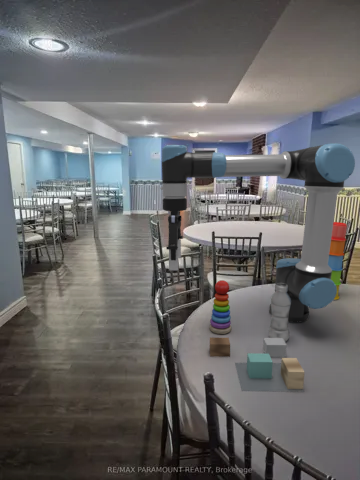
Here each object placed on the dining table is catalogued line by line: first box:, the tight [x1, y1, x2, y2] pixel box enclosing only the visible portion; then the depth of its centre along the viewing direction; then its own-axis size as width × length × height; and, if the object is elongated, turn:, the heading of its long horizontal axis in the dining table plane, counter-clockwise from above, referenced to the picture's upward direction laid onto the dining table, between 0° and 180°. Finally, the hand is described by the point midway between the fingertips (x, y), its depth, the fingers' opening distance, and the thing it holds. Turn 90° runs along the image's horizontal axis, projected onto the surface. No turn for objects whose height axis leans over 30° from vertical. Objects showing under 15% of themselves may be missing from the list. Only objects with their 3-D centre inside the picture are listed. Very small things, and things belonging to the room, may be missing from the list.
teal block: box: [246, 352, 274, 379], centre depth 83 cm, size 6×4×5 cm, turn 88°
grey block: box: [262, 337, 288, 358], centre depth 93 cm, size 6×4×5 cm, turn 88°
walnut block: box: [208, 336, 231, 358], centre depth 93 cm, size 6×4×5 cm, turn 89°
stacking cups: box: [328, 221, 348, 301], centre depth 135 cm, size 10×10×35 cm
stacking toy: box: [209, 280, 232, 335], centre depth 107 cm, size 8×8×19 cm
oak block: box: [280, 357, 305, 390], centre depth 80 cm, size 6×4×5 cm, turn 178°
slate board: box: [234, 362, 305, 393], centre depth 82 cm, size 16×12×1 cm
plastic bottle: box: [268, 283, 291, 343], centre depth 100 cm, size 6×7×20 cm
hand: (175, 263), depth 97 cm, fingers open, 13 cm apart
